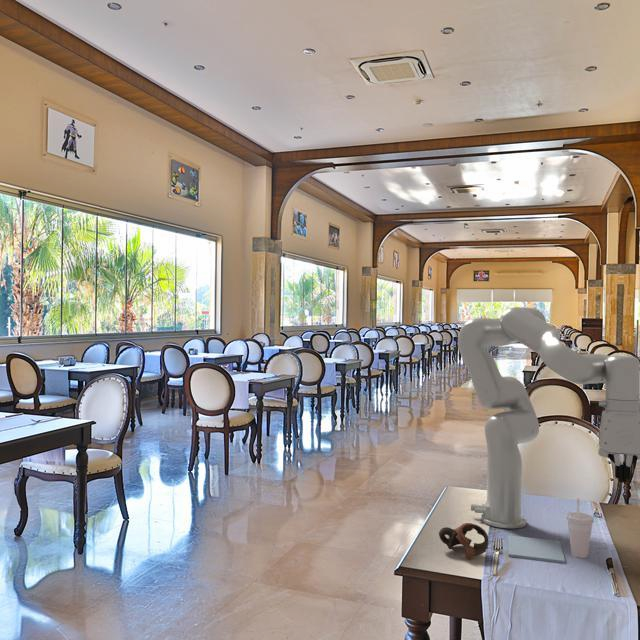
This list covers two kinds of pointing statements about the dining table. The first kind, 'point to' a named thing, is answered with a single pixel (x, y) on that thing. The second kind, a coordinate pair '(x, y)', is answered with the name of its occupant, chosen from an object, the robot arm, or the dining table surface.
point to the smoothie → (579, 532)
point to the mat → (535, 549)
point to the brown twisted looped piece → (464, 539)
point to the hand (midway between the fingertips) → (622, 481)
